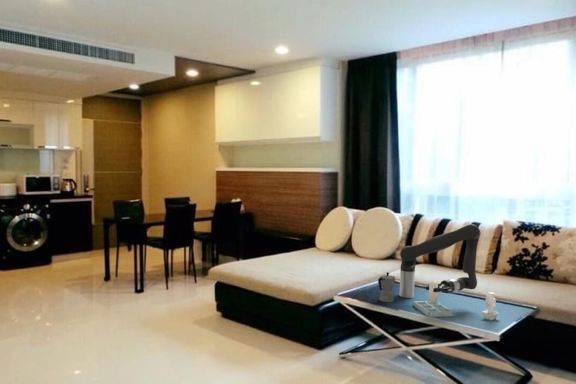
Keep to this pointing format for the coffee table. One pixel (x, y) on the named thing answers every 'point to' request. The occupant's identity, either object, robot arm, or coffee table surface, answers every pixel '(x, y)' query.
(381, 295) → the coffeepot
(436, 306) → the muffin tray
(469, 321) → the coffee table surface
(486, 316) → the figurine
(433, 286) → the white tall cylinder
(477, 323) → the coffee table surface
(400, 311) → the coffee table surface
